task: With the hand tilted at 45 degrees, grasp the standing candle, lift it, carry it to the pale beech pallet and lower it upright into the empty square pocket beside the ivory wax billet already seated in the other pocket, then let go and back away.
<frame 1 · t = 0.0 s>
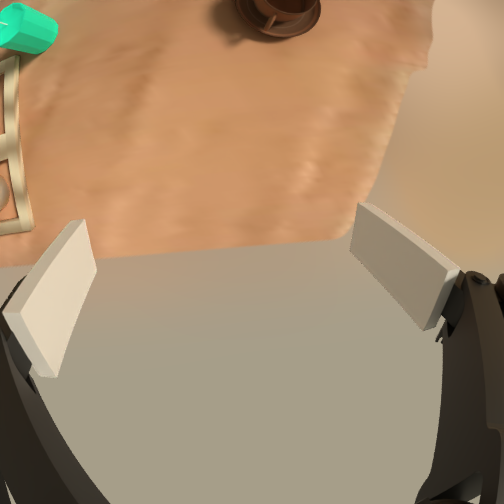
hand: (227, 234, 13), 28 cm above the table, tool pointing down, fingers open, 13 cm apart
cup and saucer: (275, 5, 29), on the table
candle: (42, 36, 23), on the table
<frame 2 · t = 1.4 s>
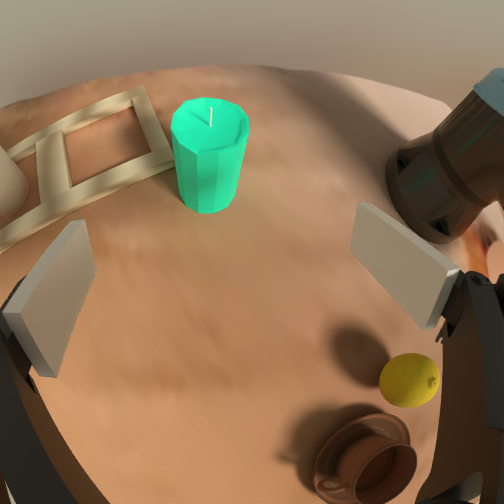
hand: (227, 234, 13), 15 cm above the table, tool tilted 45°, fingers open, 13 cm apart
pallet: (55, 169, 28), on the table
cup and saucer: (357, 457, 24), on the table
lemon: (385, 377, 27), on the table
candle: (207, 189, 30), on the table
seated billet: (12, 195, 26), resting in pallet
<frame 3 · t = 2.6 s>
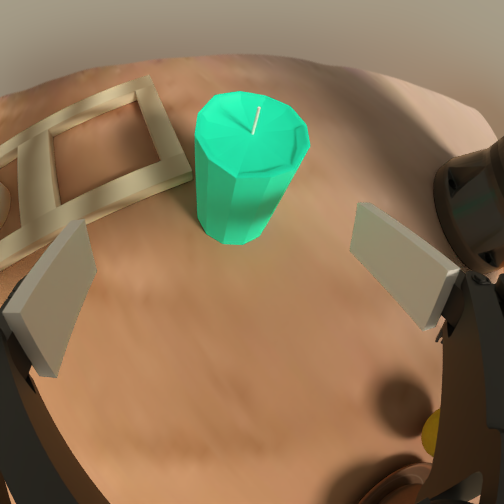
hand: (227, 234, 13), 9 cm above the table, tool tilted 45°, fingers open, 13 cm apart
pallet: (40, 180, 22), on the table
cup and saucer: (388, 503, 18), on the table
lemon: (425, 425, 21), on the table
candle: (233, 211, 24), on the table
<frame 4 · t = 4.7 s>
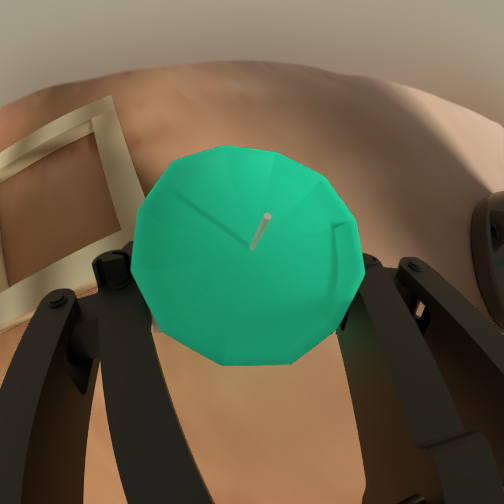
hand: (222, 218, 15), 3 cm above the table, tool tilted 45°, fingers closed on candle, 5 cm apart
candle: (225, 300, 17), on the table, touching gripper
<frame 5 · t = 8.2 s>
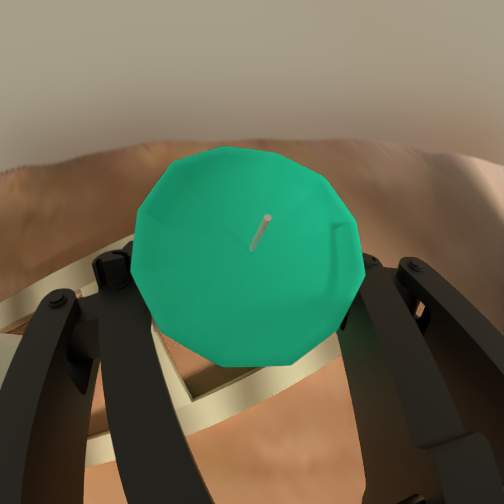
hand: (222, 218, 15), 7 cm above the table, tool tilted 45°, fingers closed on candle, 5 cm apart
pallet: (135, 345, 18), on the table
candle: (225, 300, 17), point 3 cm above the table, touching gripper
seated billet: (61, 376, 16), resting in pallet
when the fingers open (4 cm above the table, at t = 9.1 s): candle stays where it is, resting in pallet.
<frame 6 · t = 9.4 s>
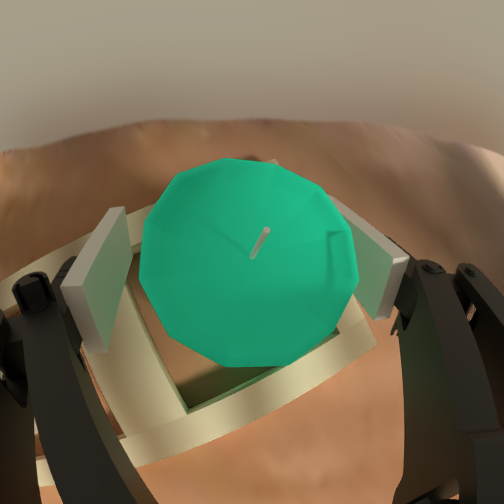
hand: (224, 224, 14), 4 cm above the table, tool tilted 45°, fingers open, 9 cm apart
pallet: (122, 347, 15), on the table
candle: (226, 302, 17), resting in pallet
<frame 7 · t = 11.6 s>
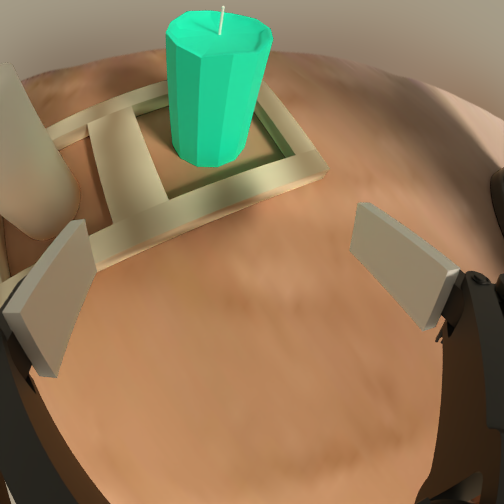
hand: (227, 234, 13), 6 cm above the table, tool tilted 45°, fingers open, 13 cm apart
pallet: (125, 167, 20), on the table
candle: (208, 139, 22), resting in pallet
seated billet: (48, 204, 18), resting in pallet
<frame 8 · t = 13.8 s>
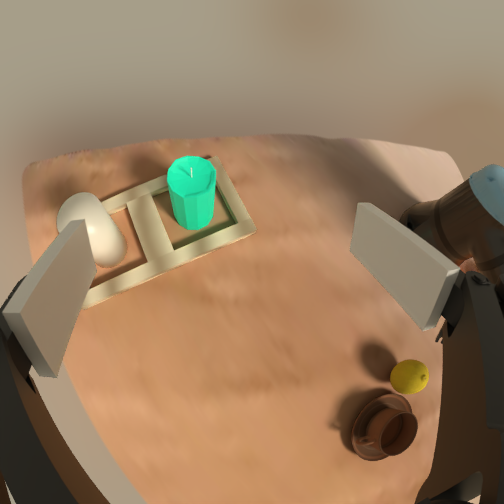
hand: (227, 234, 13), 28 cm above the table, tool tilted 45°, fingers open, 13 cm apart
pallet: (150, 229, 41), on the table
cup and saucer: (377, 425, 37), on the table
lemon: (393, 375, 40), on the table
candle: (193, 212, 43), resting in pallet
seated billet: (108, 248, 39), resting in pallet
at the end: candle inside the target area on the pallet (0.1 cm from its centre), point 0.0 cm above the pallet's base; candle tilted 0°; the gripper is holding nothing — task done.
